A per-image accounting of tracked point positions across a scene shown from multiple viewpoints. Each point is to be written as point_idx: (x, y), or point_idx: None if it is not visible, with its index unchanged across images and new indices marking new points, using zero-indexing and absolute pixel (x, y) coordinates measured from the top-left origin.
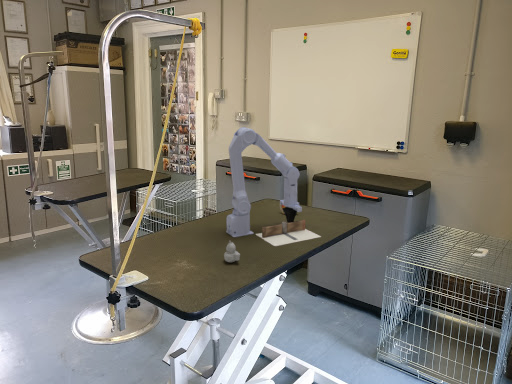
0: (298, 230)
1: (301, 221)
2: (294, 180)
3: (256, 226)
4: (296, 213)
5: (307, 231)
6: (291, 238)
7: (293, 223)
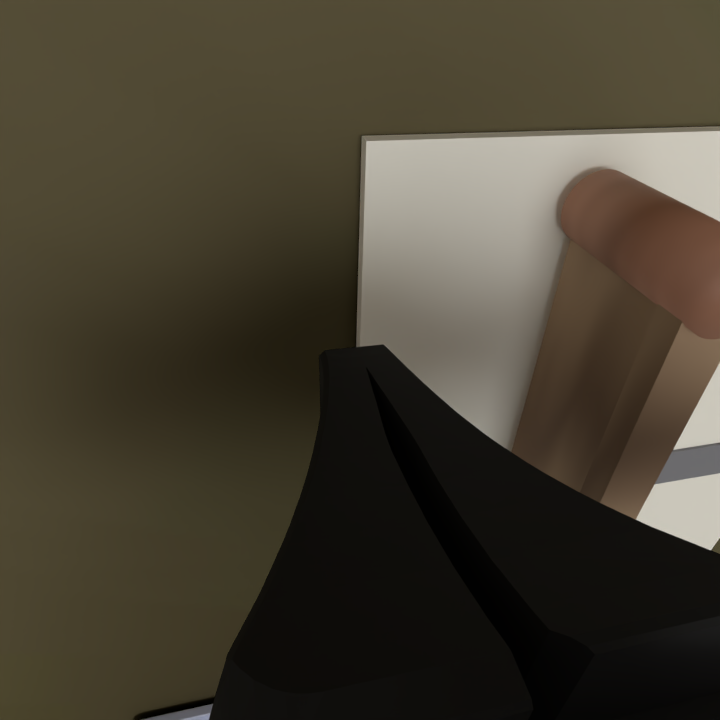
0: (553, 298)
1: (717, 356)
2: None
3: (55, 651)
4: (589, 501)
5: (701, 187)
6: (678, 478)
7: (636, 498)
